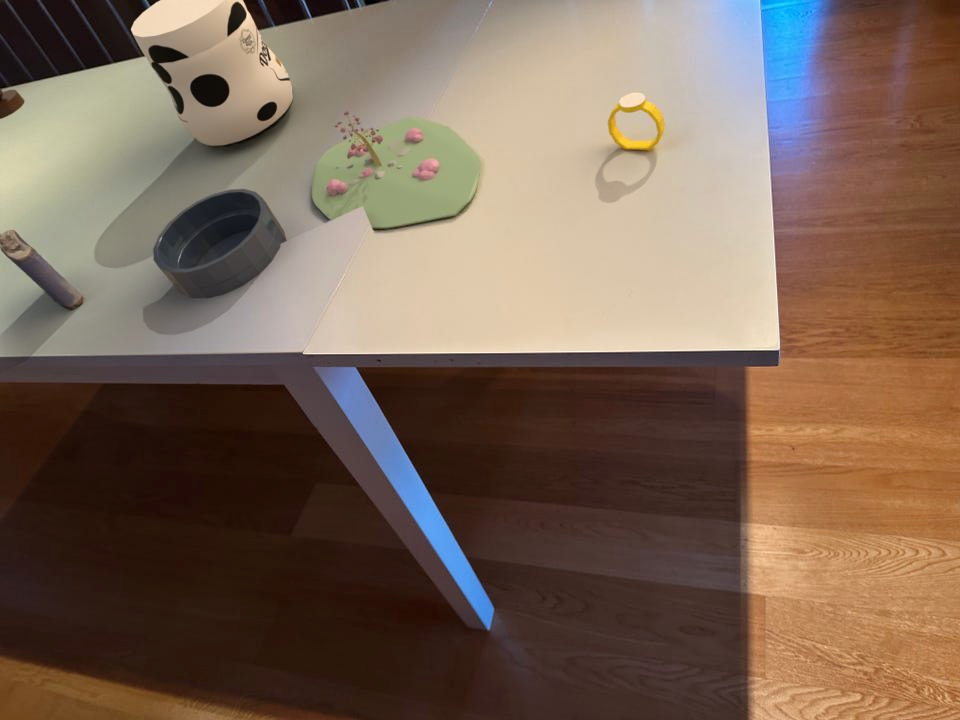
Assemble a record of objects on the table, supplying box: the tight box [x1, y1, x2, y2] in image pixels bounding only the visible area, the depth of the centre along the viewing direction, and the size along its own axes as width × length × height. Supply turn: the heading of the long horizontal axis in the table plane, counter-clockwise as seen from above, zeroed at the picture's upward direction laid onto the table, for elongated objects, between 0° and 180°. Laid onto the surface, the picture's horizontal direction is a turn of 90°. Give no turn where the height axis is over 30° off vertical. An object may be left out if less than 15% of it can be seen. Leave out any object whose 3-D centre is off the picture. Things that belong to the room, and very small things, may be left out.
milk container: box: [130, 0, 294, 148], centre depth 97 cm, size 17×17×18 cm
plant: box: [311, 110, 482, 230], centre depth 81 cm, size 25×21×9 cm
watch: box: [607, 92, 666, 152], centre depth 73 cm, size 6×3×6 cm, turn 61°
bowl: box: [152, 188, 288, 299], centre depth 79 cm, size 14×14×6 cm
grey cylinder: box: [0, 229, 84, 310], centre depth 84 cm, size 9×3×11 cm, turn 47°
